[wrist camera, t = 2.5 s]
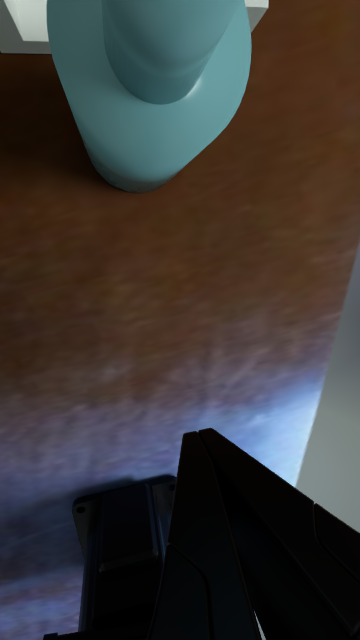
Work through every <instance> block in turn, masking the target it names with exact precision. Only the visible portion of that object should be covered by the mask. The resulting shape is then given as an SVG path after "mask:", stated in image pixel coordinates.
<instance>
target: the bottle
mask: <svg viewBox="0 0 360 640" xmlns="http://www.w3.org/2000/svg"><path fill="white" fill-rule="evenodd" d="M46 10H47V31H48V39H49V45H50V49H51V53H52V58H53V61H54V64H55V67H56V70H57V73H58V76H59V78H60V81H61V84H62V86H63V89H64V92H65V94H66V97H67V100H68V102H69V105H70V108H71V111H72V113H73V116H74V119H75V121H76V124H77V127H78V129H79V132H80V135H81V137H82V140H83V143H84V146H85V148H86V151H87V154H88V156H89V158H90V160H91V162H92V164H93V166H94V167H95V169H96V170H97V171H98V173H99V174H100V175H101V176H102V177H103V178H104V179H105V180H106V181H107V182H109V183H110V184H111V185H113V186H115V187H116V188H119V189H121V190H123V191H127V192H131V193H146V192H150V191H154V190H156V189H158V188H160V187H162V186H163V185H165V184H166V183H167V182H168V181H169V180H170V179H171V178H173V177H174V176H175V175H176V174H177V173H178V172H179V171H180V170H181V169H182V168H183V167H184V166H186V165H187V164H188V163H189V162H190V161H191V160H192V159H193V158H194V157H195V156H196V155H198V154H199V153H200V152H201V151H202V150H203V149H204V148H205V147H206V146H207V145H208V144H210V143H211V142H212V141H213V140H214V139H215V138H216V137H217V136H218V135H219V134H220V133H221V132H222V131H223V130H224V129H225V127H226V126H227V125H228V123H229V122H230V120H231V119H232V117H233V116H234V114H235V112H236V110H237V108H238V106H239V105H240V102H241V100H242V97H243V94H244V92H245V88H246V84H247V80H248V76H249V69H250V63H251V32H250V25H249V18H248V13H247V9H246V5H245V1H244V0H47V5H46Z"/></svg>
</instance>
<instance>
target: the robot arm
mask: <svg viewBox="0 0 360 640" xmlns="http://www.w3.org/2000/svg"><path fill="white" fill-rule="evenodd" d="M171 484H173V485H171ZM169 485H171V486H169ZM82 506H83V507H82ZM72 513H73V517H74V521H75V525H76V528H77V532H78V536H79V540H80V543H81V547H82V551H83V555H84V559H85V563H84V573H83V584H82V595H81V605H80V616H79V627H78V632H75V633H69V634H63V635H58V632H57V633H51V634H45V635H44V638H43V640H262V638H261V634H260V631H259V627H258V623H257V620H256V616H257V618H258V621H259V623H260V626H261V628H262V631H263V633H264V636H265V638H266V640H360V533H359V532H357V531H356V530H354V529H353V528H351V527H350V526H348V525H347V524H346V523H344V522H343V521H341V520H339V519H338V518H337V517H335V516H334V515H332V514H331V513H330V512H328V511H327V510H325V509H324V508H323V507H321V506H320V505H318V504H317V503H316V504H314V501H313V500H311V499H310V498H309V497H307V496H306V495H304V494H303V493H302V492H300V491H299V490H297V489H296V488H295V487H293V486H292V485H291V484H289V483H288V482H286V481H285V480H284V479H282V478H281V477H279V476H278V475H277V474H275V473H274V472H272V471H271V470H270V469H268V468H267V467H265V466H264V465H263V464H261V463H260V462H259V461H257V460H256V459H254V458H253V457H252V456H250V455H249V454H247V453H246V452H245V451H243V450H242V449H240V448H239V447H238V446H236V445H235V444H234V443H232V442H231V441H229V440H228V439H227V438H225V437H224V436H222V435H221V434H220V433H218V432H217V431H215V430H214V429H212V428H207V429H202V430H199V431H198V432H196V431H193V432H188V433H184V434H183V438H182V445H181V452H180V458H179V465H178V472H177V477H175V476H169V477H165V478H161V479H156V480H152V481H148V482H144V483H140V484H135V485H131V486H127V487H123V488H119V489H114V490H110V491H106V492H102V493H98V494H93V495H89V496H85V497H81V498H78V499H76V500H75V501H74V503H73V508H72ZM254 611H255V613H254ZM255 614H256V616H255Z"/></svg>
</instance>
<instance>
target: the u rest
mask: <svg viewBox="0 0 360 640" xmlns="http://www.w3.org/2000/svg"><path fill="white" fill-rule="evenodd" d="M244 1H245V5H246V9H247V13H248V18H249V25H250V32H252V31H253V29H254V28H255V26H256V25H257V23H258V22H259V20H260V19H261V18H262V16H263V15H264V13H265V12H266V10H267V9H268V0H244ZM46 5H47V0H0V51H1V53H27V54H52V53H51V49H50V45H49V39H48V31H47V10H46Z"/></svg>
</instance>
